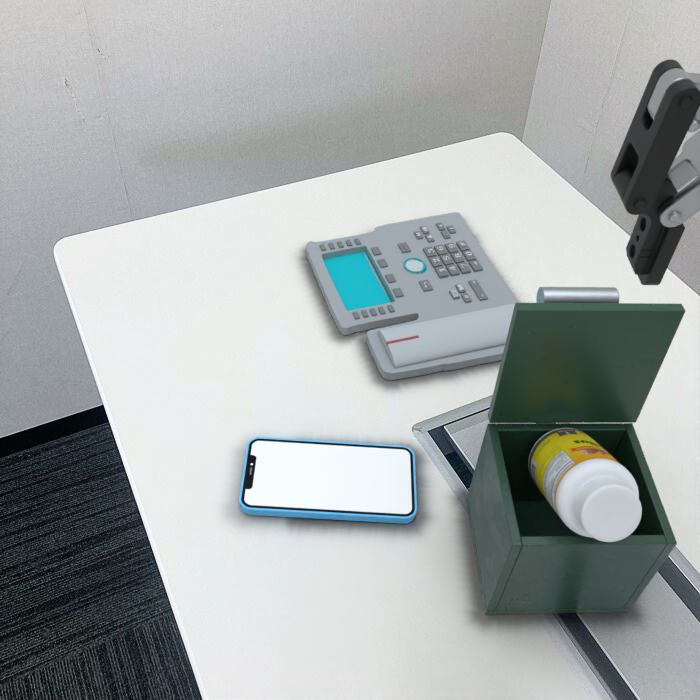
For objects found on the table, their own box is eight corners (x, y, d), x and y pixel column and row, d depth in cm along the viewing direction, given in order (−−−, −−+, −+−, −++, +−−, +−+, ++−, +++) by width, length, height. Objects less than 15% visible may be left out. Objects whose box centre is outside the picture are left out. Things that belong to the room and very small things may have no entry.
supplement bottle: (611, 451, 58) (673, 505, 48) (566, 506, 59) (617, 570, 49) (556, 410, 57) (607, 457, 47) (511, 467, 58) (551, 524, 48)
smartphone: (417, 519, 63) (237, 508, 63) (415, 526, 64) (238, 516, 63) (414, 446, 68) (248, 436, 68) (412, 454, 69) (248, 444, 69)
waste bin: (628, 612, 59) (677, 543, 51) (485, 614, 58) (512, 545, 51) (594, 498, 66) (632, 422, 58) (466, 499, 66) (487, 423, 58)
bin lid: (686, 310, 50) (660, 265, 54) (517, 309, 50) (503, 264, 53) (636, 422, 58) (616, 376, 62) (489, 423, 57) (478, 376, 61)
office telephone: (552, 335, 77) (366, 375, 72) (546, 352, 79) (364, 392, 74) (460, 202, 91) (301, 228, 87) (456, 219, 93) (301, 246, 88)
